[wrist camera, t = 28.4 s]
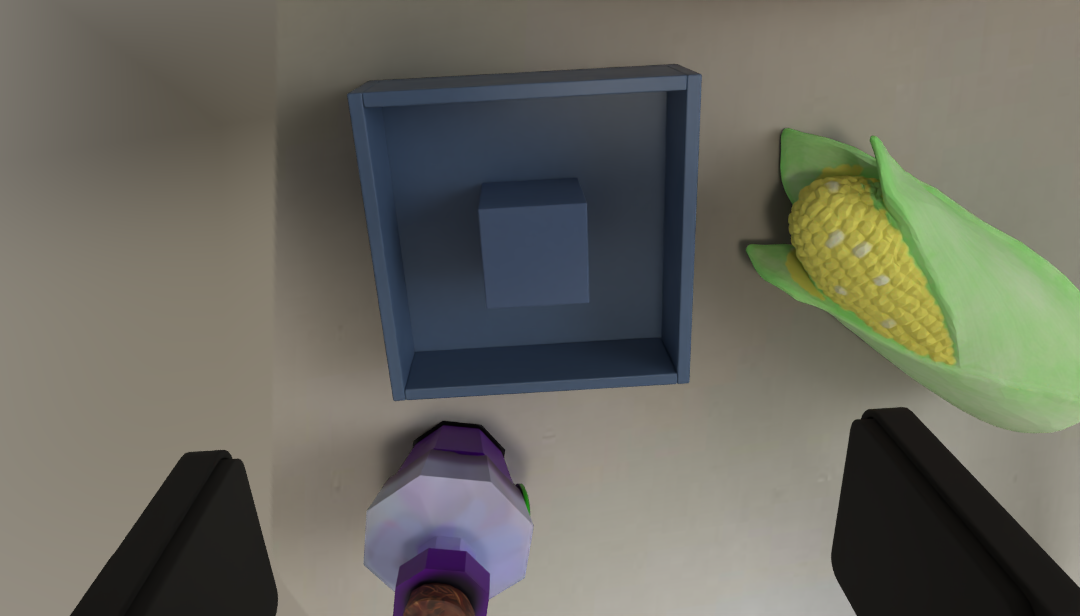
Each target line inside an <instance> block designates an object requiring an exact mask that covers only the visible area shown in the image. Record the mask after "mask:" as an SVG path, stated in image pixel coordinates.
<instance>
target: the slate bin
mask: <svg viewBox="0 0 1080 616" xmlns="http://www.w3.org/2000/svg"><path fill="white" fill-rule="evenodd" d="M701 82H702V75H701V74H699V73H697V72H694V71H692V70H690V69H687V68H685V67H682V66H680V65H678V64H669V65H651V66H632V67H614V68H595V69H577V70H559V71H540V72H522V73H503V74H485V75H466V76H448V77H430V78H411V79H393V80H374V81H368V82H366V83H365V84H363V85H361V86H360V87H358V88H356V89H355V90H353V91H351V92H350V93H348V94H347V97H348V104H349V110H350V117H351V124H352V130H353V137H354V143H355V150H356V157H357V163H358V170H359V176H360V183H361V190H362V196H363V203H364V210H365V216H366V223H367V229H368V236H369V243H370V249H371V256H372V262H373V269H374V276H375V282H376V289H377V295H378V302H379V309H380V315H381V322H382V328H383V335H384V342H385V348H386V355H387V361H388V368H389V375H390V381H391V388H392V395H393V400H394V401H400V400H417V399H433V398H450V397H467V396H483V395H500V394H517V393H533V392H550V391H567V390H584V389H600V388H617V387H634V386H650V385H667V384H676V383H678V384H684V383H689V378H690V354H691V329H692V304H693V279H694V255H695V230H696V205H697V181H698V156H699V131H700V106H701ZM562 178H578V180H579V183H580V186H581V188H582V191H583V194H584V197H585V200H586V202H587V221H588V266H589V303H580V304H563V305H546V306H529V307H511V308H494V309H487V308H486V302H485V290H484V279H483V267H482V255H481V244H480V232H479V220H478V205H479V199H480V193H481V187H482V183H491V182H509V181H526V180H544V179H562Z"/></svg>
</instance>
